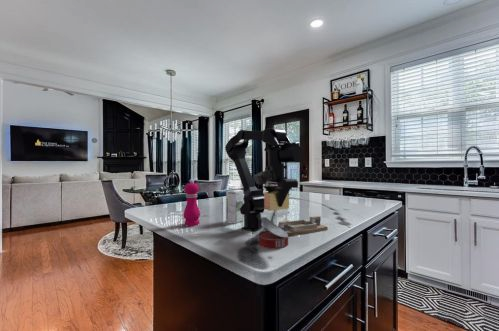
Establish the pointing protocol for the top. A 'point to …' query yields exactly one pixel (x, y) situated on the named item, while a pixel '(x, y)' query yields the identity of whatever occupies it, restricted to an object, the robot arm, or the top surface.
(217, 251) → the top surface
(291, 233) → the shaft board
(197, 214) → the pepper mill
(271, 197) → the block
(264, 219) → the canned food
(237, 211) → the syrup box
